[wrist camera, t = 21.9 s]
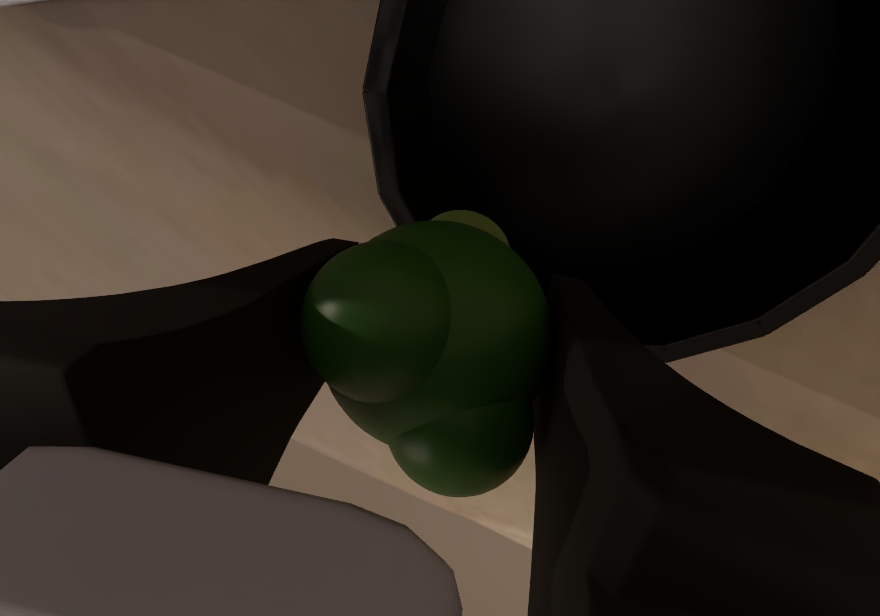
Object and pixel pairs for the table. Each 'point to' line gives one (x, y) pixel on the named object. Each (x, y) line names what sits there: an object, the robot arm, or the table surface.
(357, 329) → the broccoli
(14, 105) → the table surface
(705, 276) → the pot
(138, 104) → the table surface
